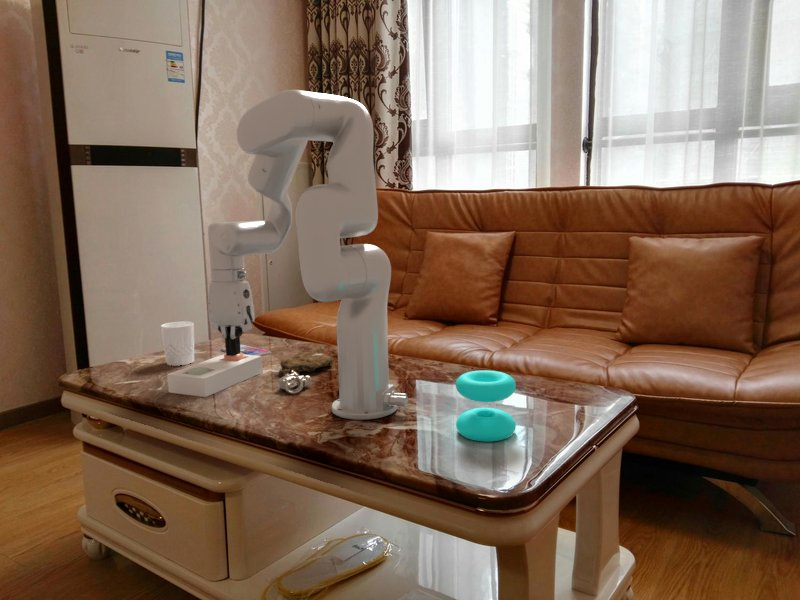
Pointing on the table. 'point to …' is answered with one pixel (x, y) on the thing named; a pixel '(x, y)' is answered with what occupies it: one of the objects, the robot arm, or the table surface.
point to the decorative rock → (305, 362)
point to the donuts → (485, 420)
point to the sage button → (198, 371)
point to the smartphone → (251, 350)
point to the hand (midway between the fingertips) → (233, 354)
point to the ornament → (294, 382)
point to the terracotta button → (234, 357)
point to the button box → (214, 375)
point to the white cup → (178, 342)
